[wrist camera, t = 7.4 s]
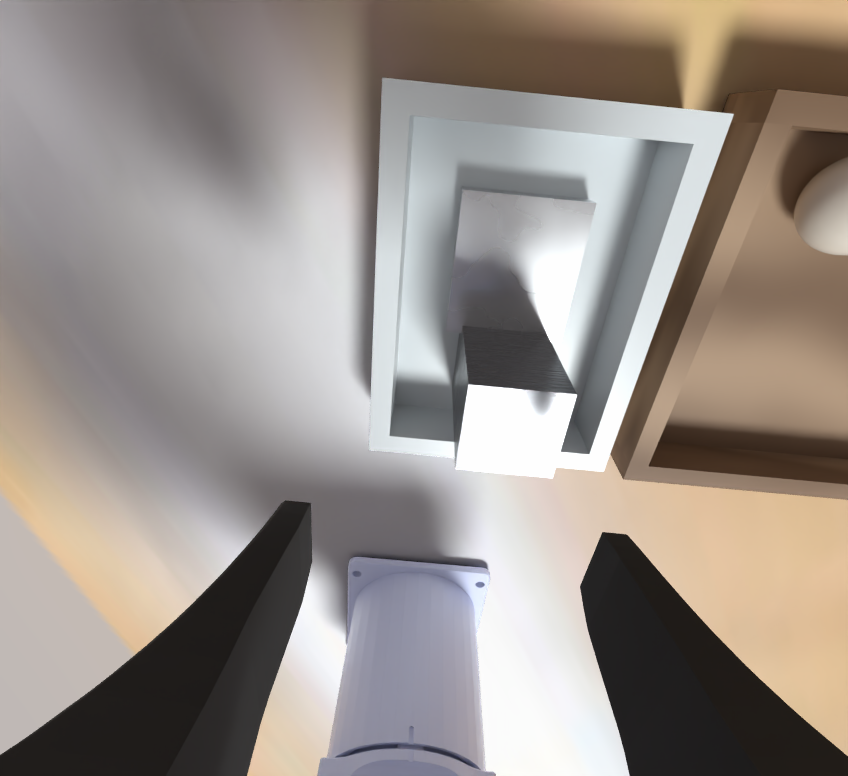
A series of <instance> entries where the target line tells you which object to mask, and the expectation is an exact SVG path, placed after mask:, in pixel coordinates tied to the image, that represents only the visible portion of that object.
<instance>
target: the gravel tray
mask: <svg viewBox="0 0 848 776" xmlns="http://www.w3.org/2000/svg"><path fill="white" fill-rule="evenodd" d="M722 113H730V114H734V115H733V118H732V121H731V124H730V126H729V129H728V132H727V135H726V137H725V140H724V143H723V146H722V148H721V151H720V154H719V157H718V159H717V162H716V165H715V167H714V170H713V173H712V176H711V178H710V181H709V184H708V187H707V189H706V192H705V195H704V198H703V200H702V203H701V206H700V209H699V211H698V214H697V217H696V220H695V222H694V225H693V228H692V231H691V233H690V236H689V239H688V242H687V244H686V247H685V250H684V253H683V255H682V258H681V261H680V264H679V266H678V269H677V272H676V275H675V277H674V280H673V283H672V286H671V288H670V291H669V294H668V297H667V299H666V302H665V305H664V308H663V310H662V313H661V316H660V318H659V321H658V324H657V327H656V329H655V332H654V335H653V338H652V340H651V343H650V346H649V349H648V351H647V354H646V357H645V360H644V362H643V365H642V368H641V371H640V373H639V376H638V379H637V382H636V384H635V387H634V390H633V393H632V395H631V398H630V401H629V404H628V406H627V409H626V412H625V415H624V417H623V420H622V423H621V426H620V428H619V431H618V434H617V437H616V439H615V442H614V445H613V448H612V450H611V453H610V454H611V456H612V458H613V460H614V462H615V464H616V466H617V468H618V470H619V472H620V474H621V476H622V478H623V479H625V480H636V481H647V482H658V483H669V484H680V485H691V486H702V487H713V488H724V489H735V490H746V491H757V492H768V493H779V494H790V495H801V496H812V497H823V498H834V499H845V500H848V255H832V254H827V253H823V252H820V251H818V250H816V249H814V248H812V247H810V246H809V245H808V244H807V243H805V242H804V241H803V240H802V238H801V237H800V236H799V234H798V232H797V230H796V227H795V223H794V210H795V206H796V202H797V200H798V197H799V195H800V194H801V192H802V190H803V189H804V187H805V186H806V185H807V184H808V182H809V181H810V180H811V179H812V178H813V177H814V176H815V175H816V174H818V173H819V172H820V171H821V170H823V169H824V168H826V167H827V166H829V165H831V164H832V163H834V162H836V161H838V160H840V159H843V158H846V157H848V96H839V95H829V94H820V93H810V92H801V91H791V90H782V89H774V90H764V91H754V92H744V93H734V94H729V95H728V98H727V101H726V104H725V106H724V109H723V112H722Z"/></svg>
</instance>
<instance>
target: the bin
mask: <svg viewBox="0 0 848 776" xmlns="http://www.w3.org/2000/svg"><path fill="white" fill-rule="evenodd" d="M733 115H734V114H730V113H720V112H711V111H701V110H691V109H682V108H672V107H662V106H653V105H643V104H633V103H624V102H614V101H604V100H595V99H585V98H575V97H566V96H556V95H546V94H537V93H527V92H517V91H508V90H498V89H488V88H479V87H469V86H459V85H450V84H440V83H430V82H421V81H411V80H401V79H392V78H382V97H381V125H380V152H379V180H378V208H377V235H376V263H375V291H374V319H373V346H372V374H371V402H370V429H369V450H370V451H381V452H392V453H403V454H414V455H425V456H436V457H447V458H455V453H454V427H453V402H452V382H453V374H454V367H455V360H456V353H457V345H458V338H459V333H456V332H446V314H447V305H448V297H449V288H450V280H451V272H452V263H453V255H454V247H455V238H456V230H457V221H458V213H459V205H460V196H461V188H462V186H467V187H477V188H487V189H497V190H507V191H517V192H527V193H537V194H547V195H557V196H567V197H577V198H587V199H590V200H592V201H594V202H596V203H597V204H596V208H595V212H594V216H593V220H592V224H591V227H590V231H589V235H588V239H587V243H586V247H585V251H584V255H583V258H582V262H581V266H580V270H579V274H578V278H577V282H576V285H575V289H574V293H573V297H572V301H571V305H570V309H569V313H568V316H567V320H566V324H565V328H564V332H563V336H562V340H561V343H560V342H551V343H552V345H553V347H554V349H555V351H556V353H557V355H558V357H559V359H560V361H561V363H562V365H563V367H564V369H565V371H566V373H567V375H568V377H569V379H570V381H571V383H572V385H573V387H574V389H575V391H576V393H577V397H576V400H575V403H574V407H573V410H572V414H571V417H570V420H569V424H568V427H567V431H566V434H565V437H564V441H563V444H562V447H561V451H560V454H559V458H558V461H557V464H556V467H557V468H568V469H579V470H590V471H601V472H604V469H605V467H606V464H607V461H608V459H609V456H610V453H611V450H612V448H613V445H614V442H615V439H616V437H617V434H618V431H619V428H620V426H621V423H622V420H623V417H624V415H625V412H626V409H627V406H628V404H629V401H630V398H631V395H632V393H633V390H634V387H635V384H636V382H637V379H638V376H639V373H640V371H641V368H642V365H643V362H644V360H645V357H646V354H647V351H648V349H649V346H650V343H651V340H652V338H653V335H654V332H655V329H656V327H657V324H658V321H659V318H660V316H661V313H662V310H663V308H664V305H665V302H666V299H667V297H668V294H669V291H670V288H671V286H672V283H673V280H674V277H675V275H676V272H677V269H678V266H679V264H680V261H681V258H682V255H683V253H684V250H685V247H686V244H687V242H688V239H689V236H690V233H691V231H692V228H693V225H694V222H695V220H696V217H697V214H698V211H699V209H700V206H701V203H702V200H703V198H704V195H705V192H706V189H707V187H708V184H709V181H710V178H711V176H712V173H713V170H714V167H715V165H716V162H717V159H718V157H719V154H720V151H721V148H722V146H723V143H724V140H725V137H726V135H727V132H728V129H729V126H730V124H731V121H732V118H733Z"/></svg>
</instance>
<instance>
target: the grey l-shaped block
mask: <svg viewBox="0 0 848 776" xmlns="http://www.w3.org/2000/svg"><path fill="white" fill-rule="evenodd" d="M596 204H597V203H596V202H594V201H592V200H590V199H587V198H577V197H567V196H557V195H547V194H537V193H527V192H517V191H507V190H497V189H487V188H477V187H467V186H462V188H461V196H460V205H459V213H458V221H457V230H456V238H455V247H454V255H453V263H452V272H451V280H450V288H449V297H448V305H447V314H446V332H456V333H459V338H458V345H457V353H456V360H455V367H454V374H453V382H452V402H453V427H454V453H455V469H456V470H467V471H478V472H489V473H500V474H511V475H522V476H533V477H544V478H553V474H554V471H555V468H556V464H557V461H558V458H559V454H560V451H561V447H562V444H563V441H564V437H565V434H566V431H567V427H568V424H569V420H570V417H571V414H572V410H573V407H574V403H575V400H576V397H577V393H576V391H575V389H574V387H573V385H572V383H571V381H570V379H569V377H568V375H567V373H566V371H565V369H564V367H563V365H562V363H561V361H560V359H559V357H558V355H557V353H556V351H555V349H554V347H553V345H552V343H551V342H560V343H561V340H562V336H563V332H564V328H565V324H566V320H567V316H568V313H569V309H570V305H571V301H572V297H573V293H574V289H575V285H576V282H577V278H578V274H579V270H580V266H581V262H582V258H583V255H584V251H585V247H586V243H587V239H588V235H589V231H590V227H591V224H592V220H593V216H594V212H595V208H596Z"/></svg>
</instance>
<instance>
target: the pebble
mask: <svg viewBox="0 0 848 776" xmlns="http://www.w3.org/2000/svg"><path fill="white" fill-rule="evenodd" d="M794 223H795V227H796V230H797V232H798V234H799V236H800V237H801V238H802V240H803V241H804V242H805V243H807V244H808V245H809V246H810V247H812V248H814V249H816V250H818V251H820V252H823V253H827V254H832V255H848V157H846V158H843V159H840V160H838V161H836V162H834V163H832V164H831V165H829V166H827V167H826V168H824V169H823V170H821V171H820V172H819V173H818V174H816V175H815V176H814V177H813V178H812V179H811V180H810V181H809V182H808V184H807V185H806V186H805V187H804V189H803V190H802V192H801V194H800V195H799V197H798V200H797V202H796V206H795V210H794Z"/></svg>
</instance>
